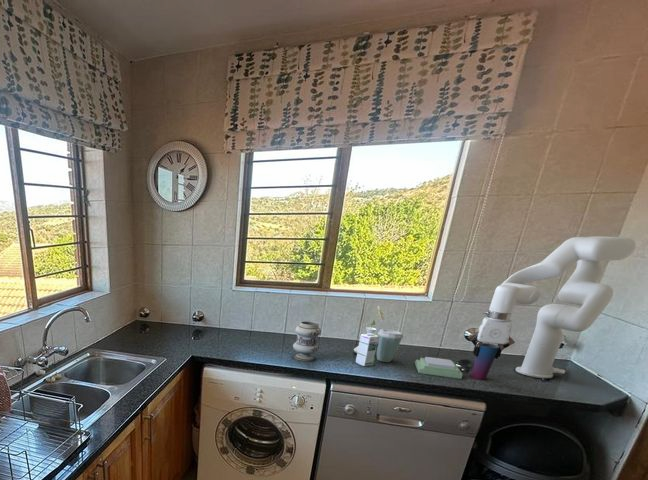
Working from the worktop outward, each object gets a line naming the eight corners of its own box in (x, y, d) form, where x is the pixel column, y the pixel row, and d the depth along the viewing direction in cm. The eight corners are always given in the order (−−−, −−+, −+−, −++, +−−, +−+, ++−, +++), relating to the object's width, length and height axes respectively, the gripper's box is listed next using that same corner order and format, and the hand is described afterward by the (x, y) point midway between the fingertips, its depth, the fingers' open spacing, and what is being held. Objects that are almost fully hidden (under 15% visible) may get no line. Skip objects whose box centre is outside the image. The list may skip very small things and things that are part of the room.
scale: (454, 368, 187) (457, 361, 186) (461, 378, 175) (463, 371, 174) (414, 363, 194) (416, 356, 192) (418, 372, 182) (420, 365, 181)
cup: (491, 381, 173) (503, 348, 168) (473, 380, 174) (484, 347, 169) (482, 375, 179) (493, 343, 174) (465, 374, 181) (475, 342, 175)
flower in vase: (372, 359, 198) (383, 309, 189) (349, 354, 207) (358, 305, 197) (383, 354, 206) (394, 306, 197) (360, 349, 214) (370, 302, 205)
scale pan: (449, 363, 186) (450, 359, 185) (454, 369, 177) (455, 366, 177) (424, 359, 190) (425, 356, 189) (427, 366, 181) (428, 363, 181)
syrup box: (364, 366, 189) (370, 336, 184) (354, 362, 195) (360, 333, 189) (374, 365, 191) (380, 336, 185) (364, 361, 196) (370, 332, 191)
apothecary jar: (294, 352, 208) (299, 318, 201) (318, 356, 202) (325, 321, 196) (288, 359, 198) (294, 323, 192) (314, 363, 193) (320, 327, 186)
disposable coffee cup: (382, 355, 205) (389, 327, 199) (402, 362, 195) (409, 332, 190) (367, 357, 201) (373, 328, 195) (386, 364, 192) (393, 334, 186)
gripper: (475, 315, 167) (462, 356, 174) (528, 320, 160) (513, 362, 167) (471, 311, 173) (459, 351, 180) (522, 316, 166) (507, 357, 173)
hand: (485, 356), depth 173 cm, fingers open, 6 cm apart
